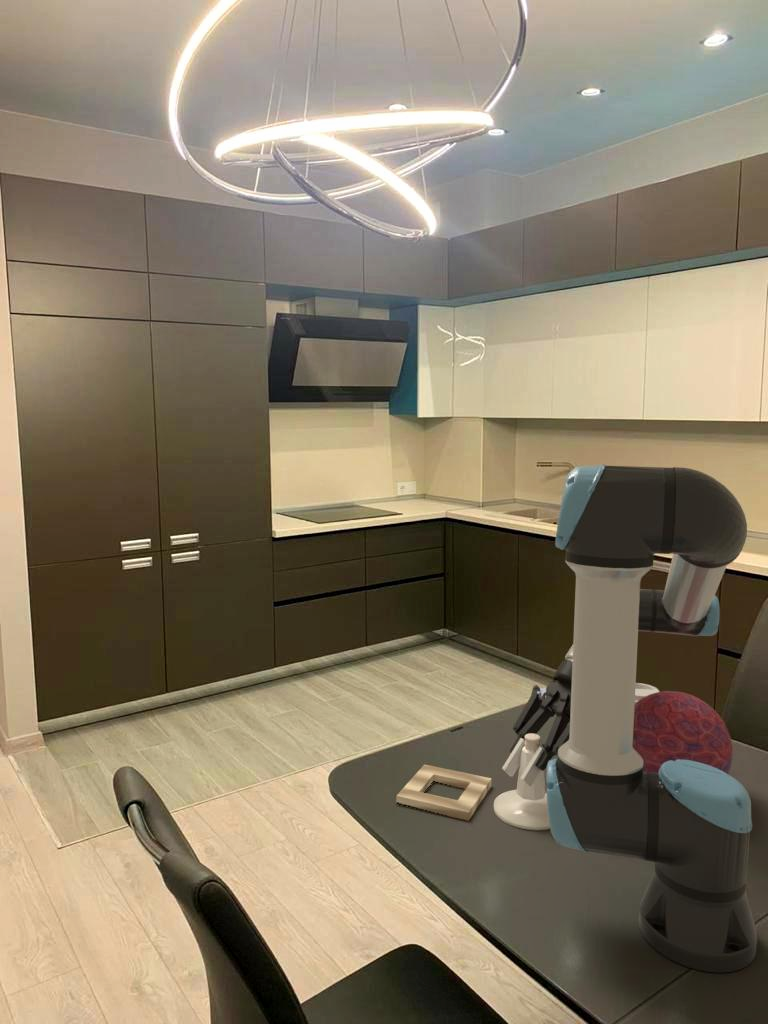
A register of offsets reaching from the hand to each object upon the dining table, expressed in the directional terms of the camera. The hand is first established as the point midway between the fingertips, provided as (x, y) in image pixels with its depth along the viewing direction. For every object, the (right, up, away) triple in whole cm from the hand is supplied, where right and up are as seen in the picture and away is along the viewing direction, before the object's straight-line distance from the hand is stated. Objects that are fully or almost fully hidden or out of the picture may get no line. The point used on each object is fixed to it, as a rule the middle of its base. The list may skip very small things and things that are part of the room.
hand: (516, 777), depth 135 cm
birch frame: (-12, -6, +9) cm, 16 cm away
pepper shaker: (+3, -4, +3) cm, 6 cm away
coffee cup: (+30, -5, +25) cm, 39 cm away
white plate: (+3, -7, +3) cm, 8 cm away
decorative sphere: (+31, -7, +9) cm, 33 cm away
